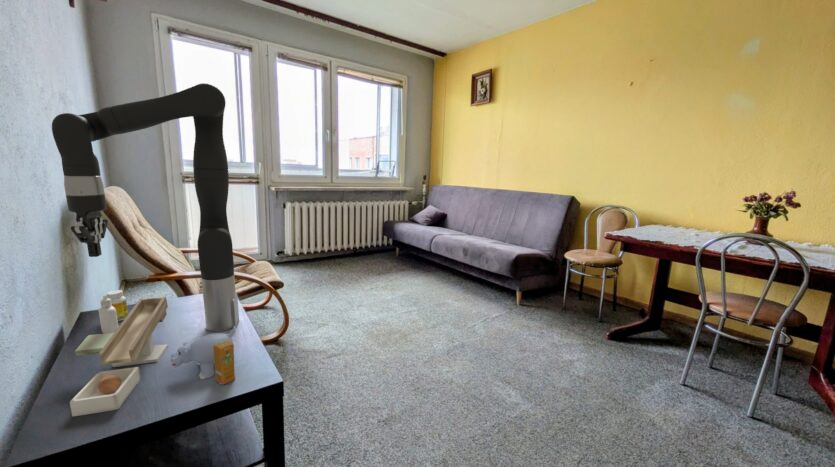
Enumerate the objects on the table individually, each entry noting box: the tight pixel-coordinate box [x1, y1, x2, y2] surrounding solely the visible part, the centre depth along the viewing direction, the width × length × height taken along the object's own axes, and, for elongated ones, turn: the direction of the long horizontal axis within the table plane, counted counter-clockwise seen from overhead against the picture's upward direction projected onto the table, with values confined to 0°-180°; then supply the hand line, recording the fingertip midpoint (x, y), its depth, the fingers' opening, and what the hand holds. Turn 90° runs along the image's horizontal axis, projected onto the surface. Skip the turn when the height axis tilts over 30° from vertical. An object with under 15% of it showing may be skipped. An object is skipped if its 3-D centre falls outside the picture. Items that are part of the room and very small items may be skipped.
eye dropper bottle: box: [98, 294, 119, 334], centre depth 107 cm, size 4×6×12 cm
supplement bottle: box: [106, 289, 129, 322], centre depth 116 cm, size 5×5×10 cm
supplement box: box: [214, 340, 236, 386], centre depth 85 cm, size 3×3×10 cm
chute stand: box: [111, 333, 169, 368], centre depth 95 cm, size 10×8×6 cm
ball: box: [98, 375, 121, 394], centre depth 80 cm, size 4×4×4 cm
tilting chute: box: [74, 296, 169, 366], centre depth 93 cm, size 13×24×6 cm, turn 18°
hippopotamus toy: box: [170, 326, 237, 380], centre depth 91 cm, size 11×15×10 cm
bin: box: [69, 366, 141, 418], centre depth 79 cm, size 8×11×4 cm
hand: (95, 256), depth 95 cm, fingers closed
